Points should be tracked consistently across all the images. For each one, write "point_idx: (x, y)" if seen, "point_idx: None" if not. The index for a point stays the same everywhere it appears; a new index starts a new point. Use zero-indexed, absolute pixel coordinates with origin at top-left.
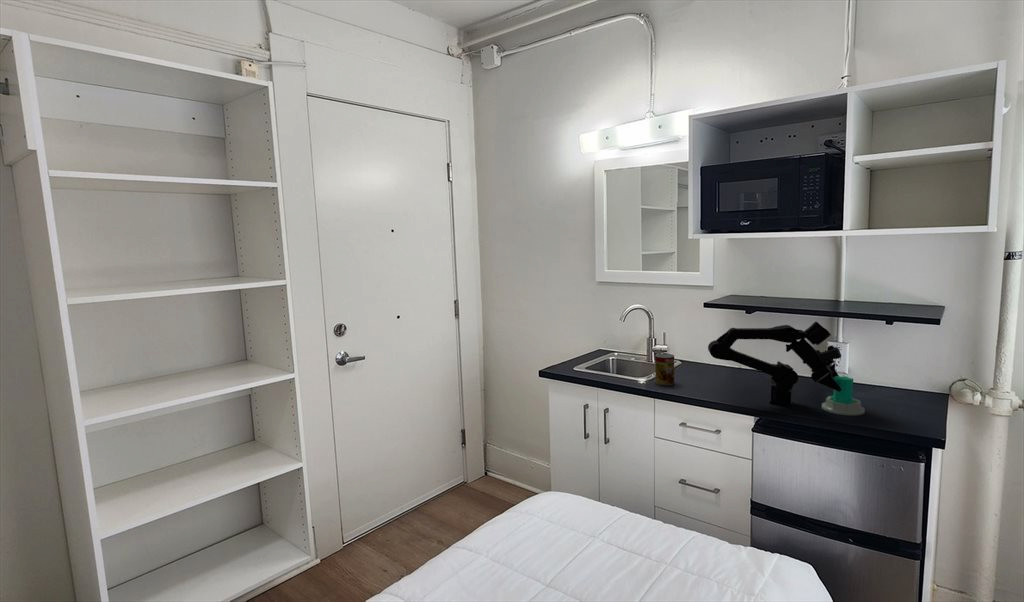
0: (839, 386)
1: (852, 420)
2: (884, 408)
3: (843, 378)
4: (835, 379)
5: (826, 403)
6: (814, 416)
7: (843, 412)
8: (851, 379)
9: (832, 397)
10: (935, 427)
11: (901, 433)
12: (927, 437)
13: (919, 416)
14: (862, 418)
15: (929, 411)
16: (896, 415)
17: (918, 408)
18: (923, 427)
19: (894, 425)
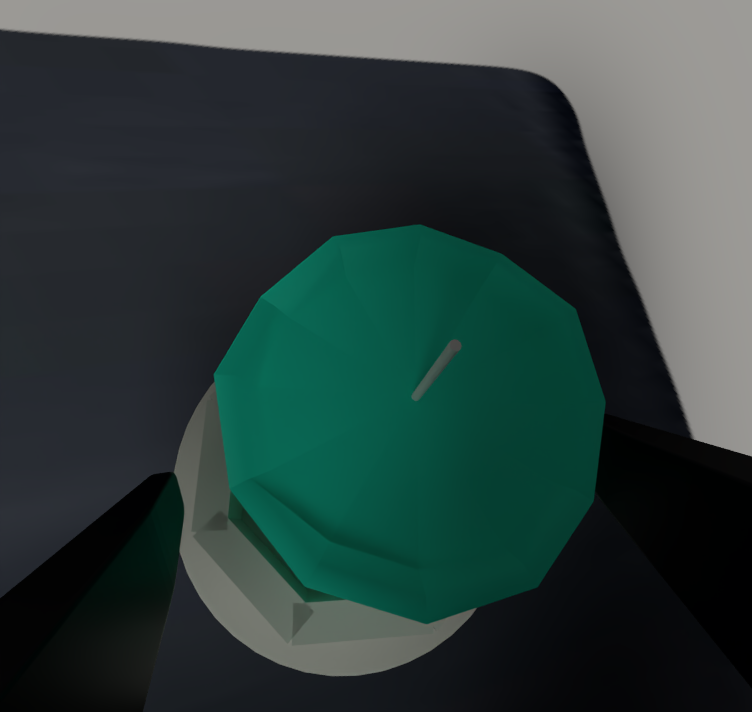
0: (621, 428)
1: None
2: (134, 242)
3: (427, 388)
4: (565, 529)
5: None
6: None
7: None
8: (453, 246)
9: (297, 592)
10: (381, 63)
11: (581, 160)
12: (550, 92)
13: (222, 100)
14: None
15: (77, 62)
16: (275, 183)
17: (27, 98)
18: (417, 96)
19: (481, 185)
